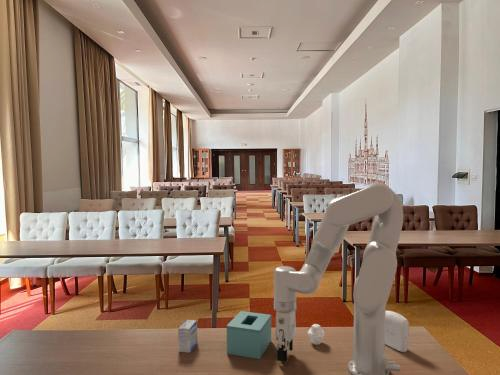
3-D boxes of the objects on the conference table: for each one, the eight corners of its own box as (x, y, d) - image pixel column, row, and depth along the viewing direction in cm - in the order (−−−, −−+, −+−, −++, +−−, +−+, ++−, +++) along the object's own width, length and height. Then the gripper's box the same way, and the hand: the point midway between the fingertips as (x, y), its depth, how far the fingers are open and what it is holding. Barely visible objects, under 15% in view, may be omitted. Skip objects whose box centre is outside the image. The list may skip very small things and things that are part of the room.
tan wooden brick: (289, 355, 137) (289, 341, 137) (286, 362, 132) (286, 348, 132) (284, 354, 138) (284, 340, 137) (280, 361, 133) (280, 347, 132)
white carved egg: (308, 346, 143) (309, 327, 143) (306, 338, 149) (306, 320, 149) (326, 346, 143) (326, 327, 143) (323, 338, 149) (323, 320, 149)
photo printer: (410, 350, 140) (411, 316, 139) (402, 353, 138) (403, 318, 137) (386, 339, 149) (387, 306, 148) (378, 342, 147) (379, 309, 146)
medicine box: (190, 353, 139) (189, 329, 138) (178, 352, 140) (177, 328, 139) (197, 343, 147) (197, 320, 146) (186, 342, 148) (185, 319, 147)
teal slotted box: (271, 341, 148) (271, 314, 147) (259, 359, 135) (259, 330, 134) (240, 336, 152) (240, 310, 151) (226, 353, 138) (226, 325, 138)
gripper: (290, 315, 124) (290, 370, 125) (301, 296, 140) (301, 345, 142) (267, 312, 126) (267, 366, 128) (280, 294, 143) (280, 342, 144)
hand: (285, 354), depth 135 cm, fingers open, 7 cm apart
